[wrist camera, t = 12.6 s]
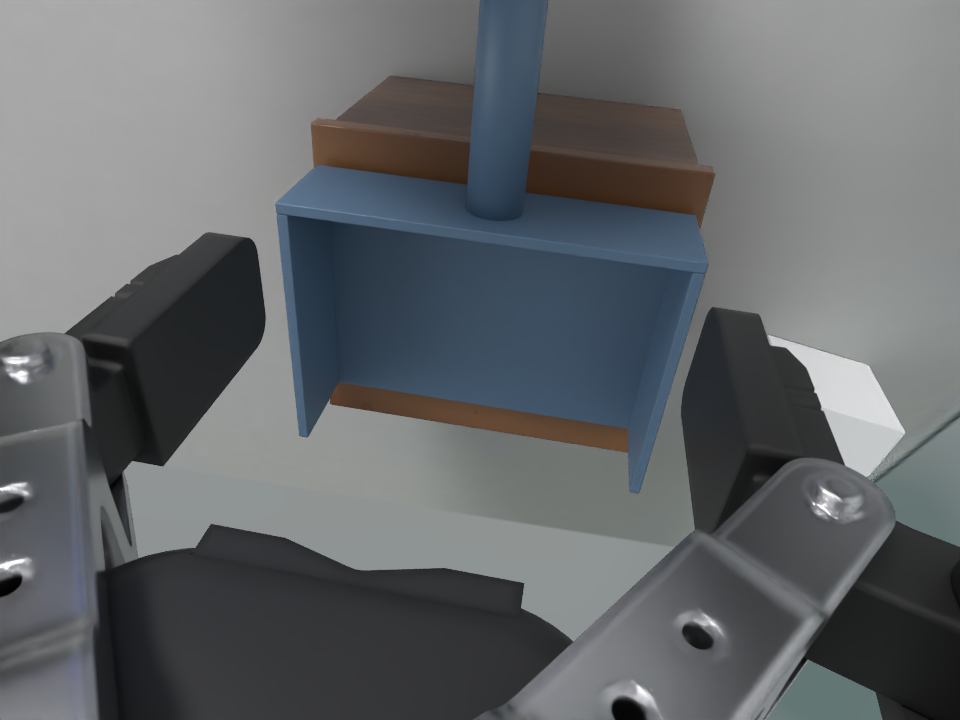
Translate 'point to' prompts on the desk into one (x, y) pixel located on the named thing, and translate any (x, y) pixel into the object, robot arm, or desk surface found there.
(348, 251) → the dustpan
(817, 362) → the white cube
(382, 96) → the storage box
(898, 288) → the desk surface
